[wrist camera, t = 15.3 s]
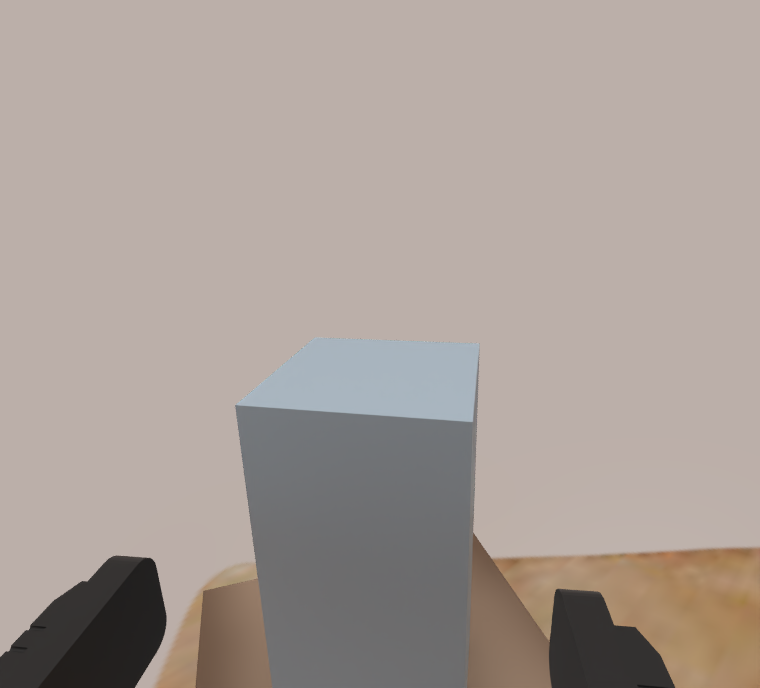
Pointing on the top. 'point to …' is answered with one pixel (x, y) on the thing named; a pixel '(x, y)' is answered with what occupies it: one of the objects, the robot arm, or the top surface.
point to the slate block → (364, 512)
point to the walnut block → (486, 643)
